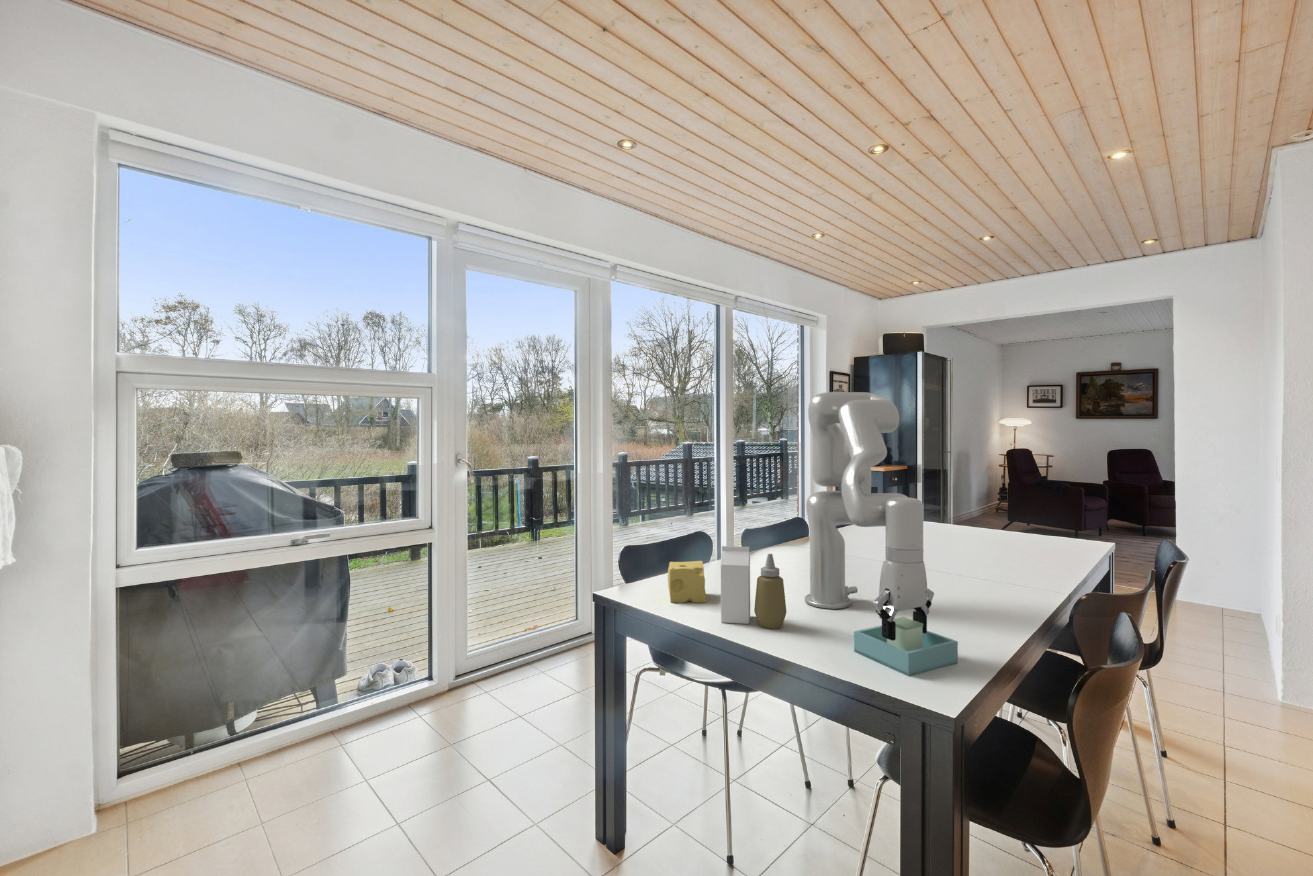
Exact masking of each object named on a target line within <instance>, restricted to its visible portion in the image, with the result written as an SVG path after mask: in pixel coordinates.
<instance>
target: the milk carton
mask: <svg viewBox="0 0 1313 876" xmlns="http://www.w3.org/2000/svg"><path fill="white" fill-rule="evenodd" d="M750 556H751V555H750V546H732V545H731V546H728V545H722V546H721V555H720V622H721V623H729V624H730V623H731V624H745V625H746V624H747V625H749V624H750V620H751V557H750Z"/></svg>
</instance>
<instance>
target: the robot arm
mask: <svg viewBox="0 0 1313 876" xmlns="http://www.w3.org/2000/svg"><path fill="white" fill-rule="evenodd" d="M807 413H808V414H807V415H808V422H809V425H810V429H811V434H812V478H813V481H814V483H815V484H816V485H817V486H821V487H827V488H829V487H830V488H832V487H833V488H837V487H838V488H839V487H840V489H841V490H822V491H817V492H814V493H812V494H810V495H809V496H808V498H807V499H806V504H805V507H806V515H807V520H808V528H809V529H808V530H809V573H810V574H809V577H810V578H809V585H810V586H809V587H810V589H809V591H810V592H809V594H806V595H805V596H804V602H805V603H806V604H808V605H809V606H811V607H816V608H820V609H830V610H832V609H833V610H835V609H838V610H839V609H845V608H848V607H850V606H851V605H852V600H851V598H850V597H849V595H850V594H856V593H858V592H859V591H858V587H857V586H855V585H854V586H847V585H846V543H845V538H844V536H843V535H842V533H841V532H840V531H839V529H838V528H837V526H841V525H855V526H856V527H861V528H871V527H872V528H873V527H875V528H876V527H885V560H884V561H883V562H882V565H881V571H880V577H879V578H880V579H879V586H878V587H879V588H878V589H879V590H878V593H879V594H878V596H877V597H876V598H875V599H874V600H873V602H872V604H873V607H874V608H875V612H876V614H877V615H878V616H879V619H881V626H882V636H883V637H884V638H887V639H890V640H892V641H894V640H895V639H896V623H895V622H894V621H893V620H894V619H895V618H896V616H897V614H898V612H902V611H908V610H913V609H914V610H913V611H912V620H914V621H917V622H920V623H923V627H922V633H927V631H928V615H929V613H930V610H929V609H930V608H931V606H932V603H933V602H932V601H933V598H934V597H935V592H934V591H933V590H931V589H930V588H928V580H927V579H928V578H927V571H926V564H925V562H924V505H923V503H922V501H921V500H920V499H918V498H913V497H909V496H907V495H905V494H903V493H898V492H888V493H887V492H885V493H884V492H880V493H879V492H876V493H873V492H872V468H873V467H874V466H877V465H878V464H880V463H881V462H883V461H884V460H885V458H886V457H887V455H888V449H887V446H886V444H885V440H884V438H883V435H882V434H883V433H884V434H887V433H888V434H889V433H890V434H891V433H893V432H894V431H896V429H897V428H898V426H899V423H900V413H899V410H898V408H897V406H896V405H895V404H894V402H892V400H890V399H887V398H885V397H882V396H880V395H877V394H875V393H873V392H866V391H865V392H864V391H861V392H860V391H859V392H858V391H857V392H856V391H853V392H852V391H850V392H848V391H847V392H846V391H829V392H827V391H826V392H822V393H817V394H815V395H814V396H812V397H811V399H810V401H809V404H808V410H807ZM838 424H840V426H841V427H840V426H839V425H838ZM845 444H846V447H847V450H848V452H845ZM889 611H890V612H889ZM888 612H889V613H888Z"/></svg>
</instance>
